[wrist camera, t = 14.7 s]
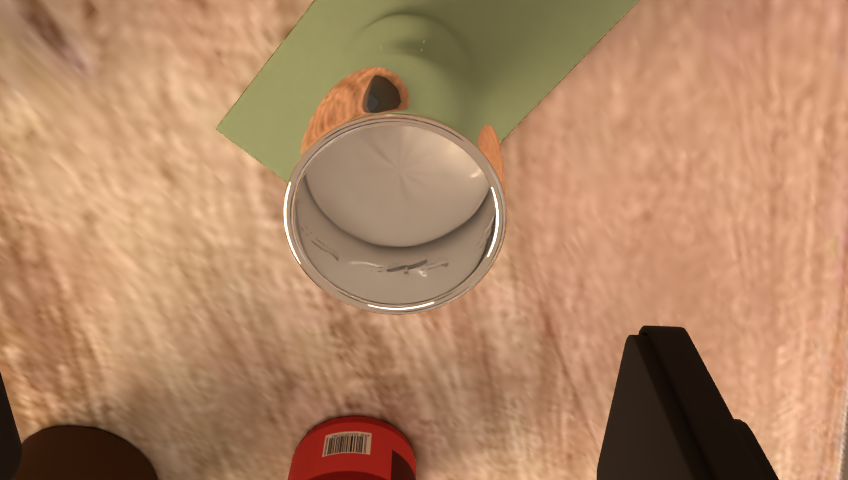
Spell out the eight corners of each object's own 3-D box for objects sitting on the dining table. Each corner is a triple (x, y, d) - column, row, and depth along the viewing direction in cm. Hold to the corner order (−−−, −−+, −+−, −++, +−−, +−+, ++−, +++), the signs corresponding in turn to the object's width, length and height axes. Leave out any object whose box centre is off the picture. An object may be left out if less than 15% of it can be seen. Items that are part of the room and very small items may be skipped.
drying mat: (497, -237, 29) (498, -238, 28) (676, -44, 32) (680, -42, 32) (218, 125, 36) (215, 129, 36) (388, 252, 40) (388, 258, 39)
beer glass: (504, 109, 35) (552, 266, 22) (378, 171, 37) (351, 352, 23) (439, -26, 32) (448, 61, 19) (304, 47, 34) (227, 175, 20)
